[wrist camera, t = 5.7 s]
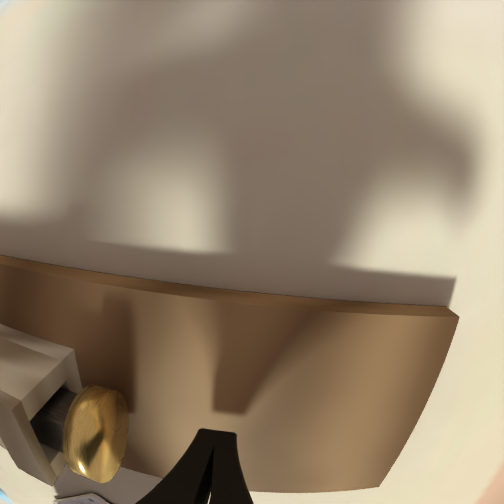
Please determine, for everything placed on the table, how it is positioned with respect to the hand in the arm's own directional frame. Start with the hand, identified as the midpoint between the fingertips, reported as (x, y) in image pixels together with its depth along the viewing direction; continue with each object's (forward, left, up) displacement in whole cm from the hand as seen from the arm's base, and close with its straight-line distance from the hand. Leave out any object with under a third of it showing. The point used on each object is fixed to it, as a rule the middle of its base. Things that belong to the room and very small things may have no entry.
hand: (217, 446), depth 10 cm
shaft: (-7, +7, -1) cm, 10 cm away
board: (-3, +2, -3) cm, 4 cm away
